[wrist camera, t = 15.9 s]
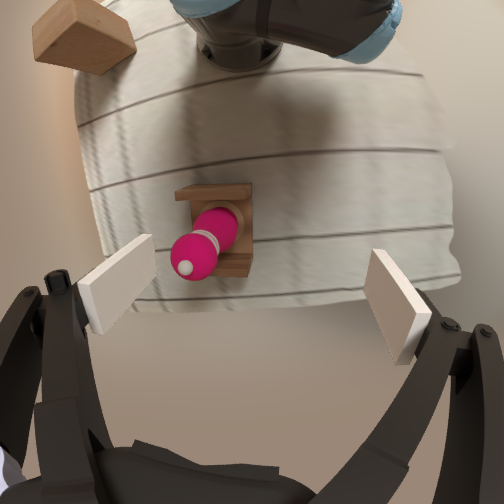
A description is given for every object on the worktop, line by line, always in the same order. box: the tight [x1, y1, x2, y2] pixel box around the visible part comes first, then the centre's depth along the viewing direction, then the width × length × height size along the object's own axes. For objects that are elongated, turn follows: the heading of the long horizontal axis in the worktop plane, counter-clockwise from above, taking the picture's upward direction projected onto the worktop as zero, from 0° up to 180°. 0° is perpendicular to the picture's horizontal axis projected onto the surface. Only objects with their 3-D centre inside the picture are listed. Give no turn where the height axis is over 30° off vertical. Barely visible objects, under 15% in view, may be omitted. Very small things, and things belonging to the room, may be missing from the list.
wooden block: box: [32, 0, 137, 76], centre depth 29 cm, size 10×10×20 cm
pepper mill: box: [170, 207, 238, 281], centre depth 39 cm, size 7×7×20 cm
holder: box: [175, 183, 253, 277], centre depth 46 cm, size 14×11×8 cm
